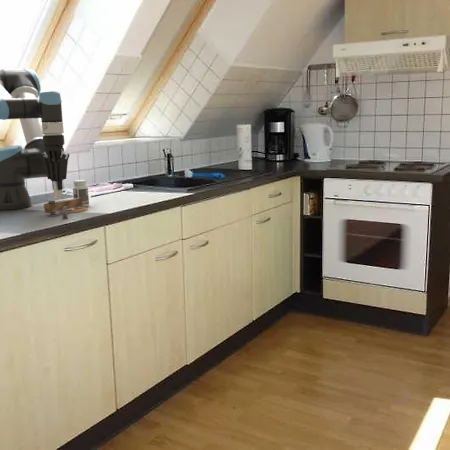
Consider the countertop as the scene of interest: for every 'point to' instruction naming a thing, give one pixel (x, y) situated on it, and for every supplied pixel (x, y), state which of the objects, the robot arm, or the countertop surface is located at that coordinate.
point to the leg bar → (62, 204)
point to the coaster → (76, 210)
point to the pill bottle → (81, 191)
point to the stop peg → (64, 212)
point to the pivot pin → (53, 214)
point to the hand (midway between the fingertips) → (58, 198)
